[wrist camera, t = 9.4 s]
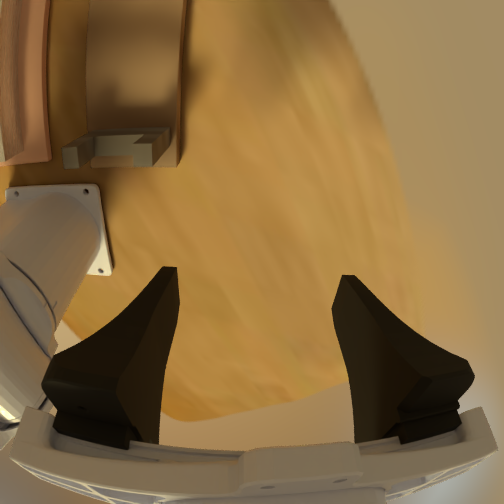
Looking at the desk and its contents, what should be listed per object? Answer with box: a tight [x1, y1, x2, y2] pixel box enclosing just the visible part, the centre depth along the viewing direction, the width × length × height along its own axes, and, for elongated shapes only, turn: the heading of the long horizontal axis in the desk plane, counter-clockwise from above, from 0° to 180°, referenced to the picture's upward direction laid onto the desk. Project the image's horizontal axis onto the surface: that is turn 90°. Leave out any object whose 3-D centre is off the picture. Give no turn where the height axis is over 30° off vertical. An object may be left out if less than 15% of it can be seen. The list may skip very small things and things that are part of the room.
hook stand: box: [61, 0, 187, 169], centre depth 13 cm, size 17×6×5 cm, turn 176°
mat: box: [0, 0, 52, 166], centre depth 13 cm, size 7×18×1 cm, turn 176°
